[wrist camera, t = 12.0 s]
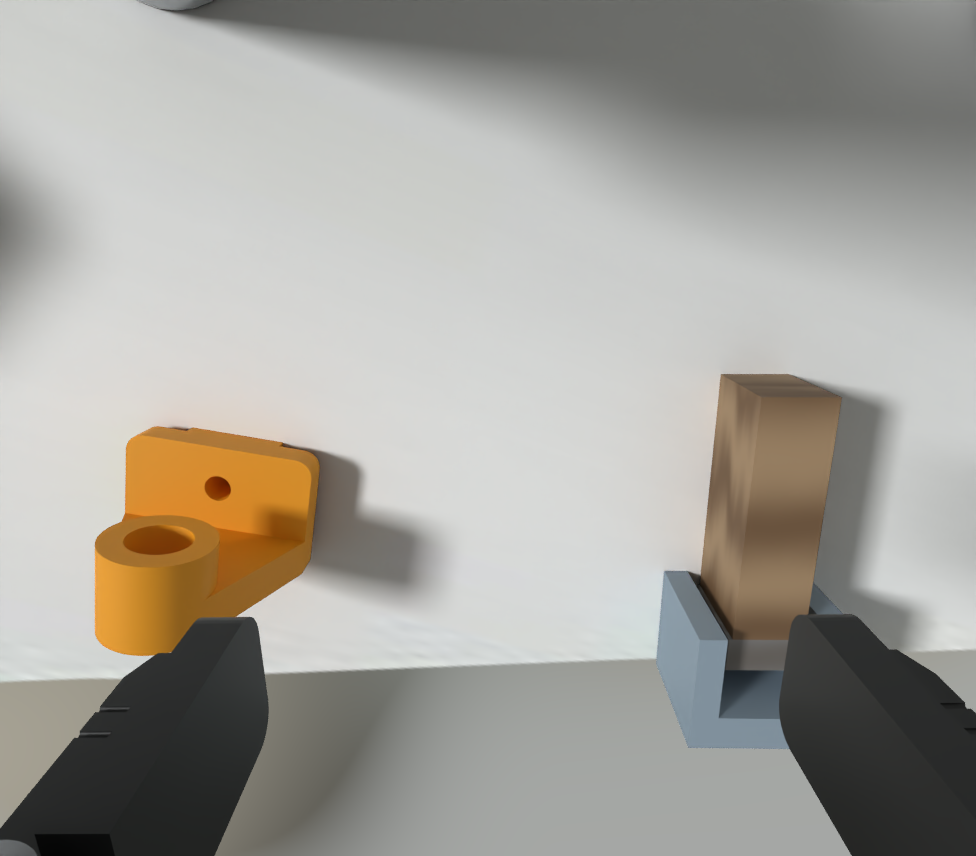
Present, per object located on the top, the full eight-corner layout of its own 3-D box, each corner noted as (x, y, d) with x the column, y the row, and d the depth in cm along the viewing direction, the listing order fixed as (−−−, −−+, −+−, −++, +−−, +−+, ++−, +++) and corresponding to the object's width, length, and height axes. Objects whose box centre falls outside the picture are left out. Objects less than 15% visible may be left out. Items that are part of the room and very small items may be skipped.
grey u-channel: (664, 571, 41) (699, 640, 34) (803, 572, 41) (869, 641, 34) (656, 663, 43) (688, 747, 36) (789, 664, 43) (848, 749, 36)
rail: (717, 374, 38) (757, 397, 32) (792, 374, 37) (845, 397, 32) (693, 611, 42) (725, 670, 36) (760, 612, 42) (802, 670, 36)
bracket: (324, 449, 39) (253, 533, 28) (313, 553, 41) (242, 672, 30) (150, 420, 39) (4, 493, 27) (148, 526, 41) (10, 636, 29)
